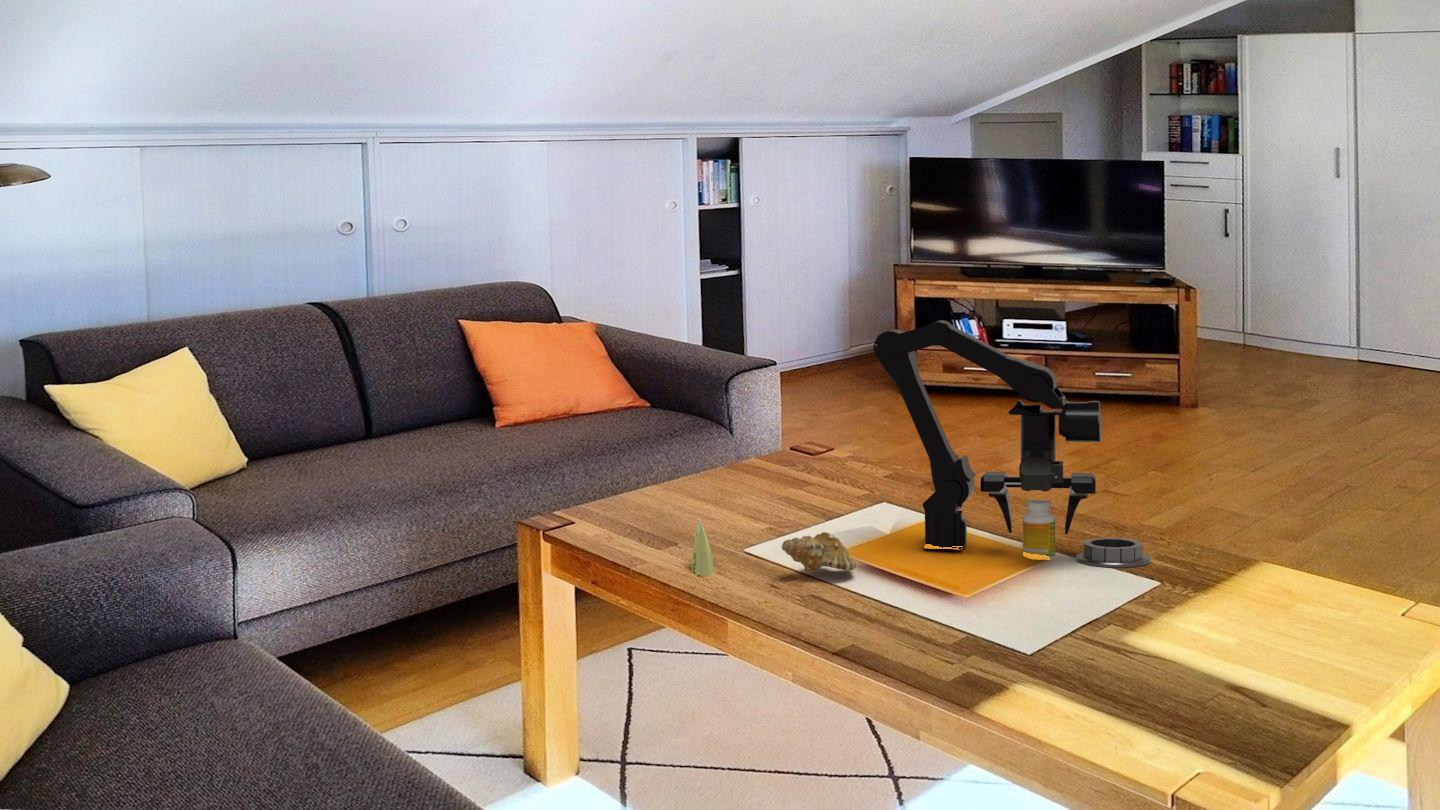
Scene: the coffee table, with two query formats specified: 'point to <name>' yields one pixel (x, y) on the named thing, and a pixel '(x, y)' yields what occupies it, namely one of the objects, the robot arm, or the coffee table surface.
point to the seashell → (819, 552)
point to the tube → (702, 553)
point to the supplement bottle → (1039, 529)
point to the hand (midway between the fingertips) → (1038, 533)
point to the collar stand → (1113, 553)
